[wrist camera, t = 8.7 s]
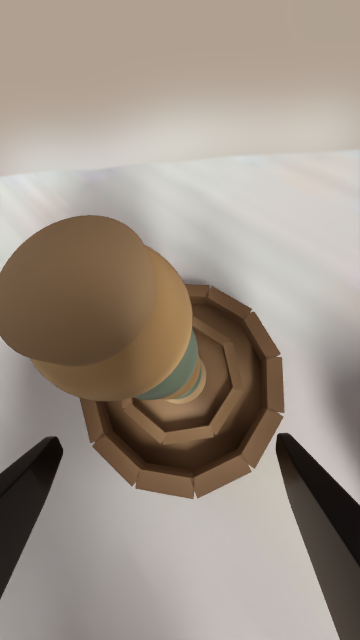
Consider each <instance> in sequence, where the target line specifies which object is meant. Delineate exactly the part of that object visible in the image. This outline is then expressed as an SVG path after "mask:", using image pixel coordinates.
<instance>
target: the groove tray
mask: <svg viewBox="0 0 360 640" xmlns="http://www.w3.org/2000/svg"><path fill="white" fill-rule="evenodd" d="M185 287H186V289H187V291H188V294H189V298H190V302H191V306H192V329H193V332H194V334H195V336H196V340H197V345H198V354H199V357H200V359H201V360H202V362H203V364H204V366H205V369H206V382H205V386H204V388H203V390H202V392H201V393H200V394H199V395H198V396H197V397H196V398H195V399H194V400H192V401H190V402H187V403H182V404H175V403H171V402H168V401H166V400H164V399H157V400H142V399H137V398H134V397H132V398H128V399H124V400H118V401H94V400H88V399H83V398H80V401H81V406H82V410H83V414H84V418H85V422H86V427H87V431H88V435H89V439H90V443H92V442H94V441H96V442H95V443H94V445H93V446H92V447H93V448H94V449H95V450H96V451H97V452H98V453H99V454H100V455H101V456H102V457H103V458H104V459H105V460H106V461H107V462H108V463H109V464H110V465H111V466H112V467H113V468H114V469H115V470H116V471H117V472H118V473H119V474H120V475H121V476H122V477H123V478H124V479H125V480H126V481H127V482H128V483H129V484H130V485H131V486H133V485H134V483H135V482H136V488H135V489H141V490H146V491H152V492H157V493H163V494H168V495H174V496H179V497H185V498H190V499H193V497H194V491H195V493H196V496H197V499H198V498H200V497H202V496H204V495H206V494H208V493H210V492H212V491H214V490H216V489H218V488H220V487H222V486H224V485H226V484H228V483H230V482H232V481H234V480H236V479H238V478H240V477H242V476H244V475H246V474H248V473H250V472H251V470H250V467H249V465H250V466H252V467H253V468H254V469H255V467H256V465H257V464H258V462H259V460H260V458H261V456H262V455H263V453H264V451H265V449H266V447H267V446H268V444H269V442H270V440H271V438H272V437H273V435H274V433H275V431H276V429H277V428H278V426H279V424H280V422H281V420H282V419H283V416H282V415H280V414H279V413H277V412H281V413H284V393H283V371H282V357H276V356H278V355H280V354H281V353H280V352H279V350H278V349H277V347H276V345H275V344H274V342H273V341H272V339H271V337H270V336H269V334H268V333H267V331H266V329H265V328H264V326H263V325H262V323H261V321H260V320H259V318H258V317H257V315H256V313H255V312H252V313H250V311H251V310H252V309H251V308H249V307H247V306H246V305H244V304H242V303H240V302H239V301H237V300H235V299H233V298H232V297H230V296H228V295H226V294H225V293H223V292H221V291H219V290H218V289H216V288H214V287H213V286H212V287H211V289H210V290H209V285H188V284H185ZM248 464H249V465H248Z"/></svg>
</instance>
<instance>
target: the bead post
mask: <svg viewBox="0 0 360 640" xmlns="http://www.w3.org/2000/svg"><path fill="white" fill-rule="evenodd" d="M0 336H1V337H2V339H3V340H4V341H5V342H6V343H7V345H8V346H10V347H11V348H12V349H13V350H15V351H16V352H18V353H20V354H22V355H23V356H26V357H29V358H30V359H31V361H32V362H33V364H34V365H35V367H36V368H37V369H38V371H39V372H40V373H41V374H42V375H43V376H44V377H45V378H46V379H47V380H49V381H50V382H51V383H52V384H54V385H55V386H56V387H58V388H60V389H61V390H63V391H65V392H67V393H69V394H72V395H74V396H77V397H80V398H83V399H88V400H94V401H118V400H124V399H128V398H132V397H134V398H137V399H142V400H157V399H164V400H166V401H168V402H171V403H175V404H182V403H187V402H190V401H192V400H194V399H195V398H196V397H197V396H198V395H199V394H200V393H201V392H202V390H203V388H204V386H205V382H206V369H205V366H204V364H203V362H202V360H201V359H200V357H199V354H198V345H197V340H196V336H195V334H194V332H193V329H192V306H191V302H190V298H189V294H188V291H187V289H186V287H185V284H184V282H183V281H182V279H181V277H180V276H179V274H178V273H177V271H176V270H175V269H174V267H173V266H172V265H171V264H170V263H169V262H168V261H167V260H166V259H165V258H163V257H162V256H161V255H160V254H159V253H157V252H156V251H154V250H153V249H151V248H149V247H147V246H145V245H144V244H143V242H142V241H141V239H140V238H139V237H138V235H137V234H136V233H135V232H134V231H133V230H132V229H130V228H129V227H128V226H126V225H125V224H123V223H121V222H119V221H117V220H115V219H111V218H108V217H103V216H92V215H88V216H78V217H72V218H68V219H64V220H61V221H58V222H56V223H53V224H51V225H49V226H47V227H45V228H43V229H42V230H40V231H38V232H37V233H35V234H34V235H32V236H31V237H30V238H28V239H27V240H26V241H25V242H24V243H23V244H22V245H21V246H20V247H19V248H18V249H17V250H16V251H15V252H14V253H13V254H12V256H11V257H10V258H9V259H8V261H7V262H6V264H5V266H4V267H3V269H2V271H1V273H0Z"/></svg>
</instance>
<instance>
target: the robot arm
mask: <svg viewBox="0 0 360 640" xmlns="http://www.w3.org/2000/svg"><path fill="white" fill-rule="evenodd" d="M276 454H277V458H278V462H279V465H280V469H281V473H282V477H283V480H284V484H285V488H286V492H287V495H288V499H289V502H290V505H291V508H292V511H293V513H294V516H295V519H296V522H297V524H298V527H299V530H300V532H301V535H302V538H303V541H304V543H305V546H306V549H307V551H308V554H309V557H310V560H311V562H312V565H313V568H314V571H315V573H316V576H317V579H318V581H319V584H320V587H321V590H322V592H323V595H324V598H325V600H326V603H327V606H328V609H329V611H330V614H331V617H332V619H333V622H334V625H335V628H336V630H337V633H338V636H339V639H340V640H360V505H359V504H358V503H357V502H356V501H355V500H354V499H353V498H352V497H351V496H350V495H349V494H348V493H347V492H346V491H345V490H344V489H343V488H342V487H341V486H340V485H339V484H338V483H337V482H336V481H335V480H334V479H333V478H332V476H331V475H330V474H329V473H328V472H327V471H326V470H325V469H324V468H323V467H322V466H321V465H320V464H319V463H318V462H317V461H316V460H315V459H314V458H313V457H312V456H311V455H310V454H309V453H308V452H307V451H306V450H305V449H304V448H303V447H302V446H301V445H300V444H299V443H298V442H297V441H296V440H295V439H294V438H293V437H292V436H291V435H290V434H288V433H279V434H278V435H277V441H276ZM62 455H63V448H62V446H61V444H60V441H59V439H58V438H57V437H56V436H49V437H46V438H44V439H43V440H42V441H40V442H39V443H38V444H37V445H35V446H34V447H33V448H32V449H30V450H29V451H28V452H27V453H25V454H24V455H23V456H22V457H20V458H19V459H18V460H17V461H15V462H14V463H13V464H12V465H10V466H9V467H8V468H7V469H5V470H4V471H3V472H2V473H0V599H1V597H2V594H3V592H4V590H5V588H6V586H7V584H8V581H9V579H10V577H11V575H12V573H13V571H14V568H15V566H16V564H17V562H18V560H19V557H20V555H21V553H22V551H23V549H24V547H25V544H26V542H27V540H28V538H29V536H30V533H31V531H32V529H33V527H34V525H35V523H36V520H37V518H38V516H39V514H40V512H41V510H42V507H43V505H44V503H45V501H46V498H47V496H48V493H49V491H50V488H51V485H52V483H53V480H54V477H55V474H56V472H57V469H58V466H59V463H60V461H61V458H62Z"/></svg>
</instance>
